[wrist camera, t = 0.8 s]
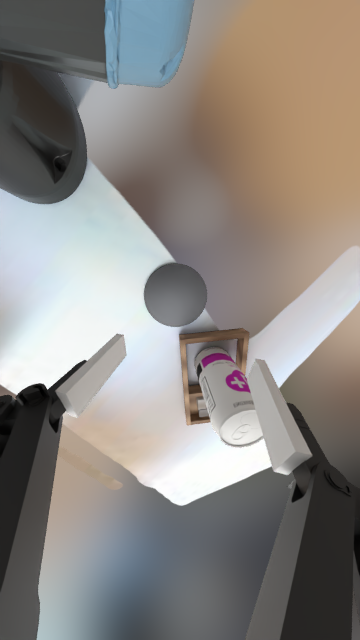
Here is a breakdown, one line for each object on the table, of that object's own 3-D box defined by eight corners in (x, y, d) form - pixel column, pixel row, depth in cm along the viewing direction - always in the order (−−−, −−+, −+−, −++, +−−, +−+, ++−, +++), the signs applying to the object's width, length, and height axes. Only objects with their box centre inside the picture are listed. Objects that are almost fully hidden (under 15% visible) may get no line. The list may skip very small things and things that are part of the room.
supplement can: (207, 339, 30) (243, 397, 16) (235, 355, 32) (288, 420, 18) (187, 366, 32) (202, 439, 18) (214, 380, 34) (247, 456, 20)
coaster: (139, 266, 24) (139, 266, 24) (206, 261, 25) (206, 261, 25) (149, 328, 28) (149, 329, 28) (206, 323, 29) (207, 323, 28)
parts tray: (179, 334, 29) (180, 340, 27) (242, 328, 30) (249, 333, 27) (185, 415, 37) (186, 425, 34) (236, 408, 38) (240, 418, 35)
